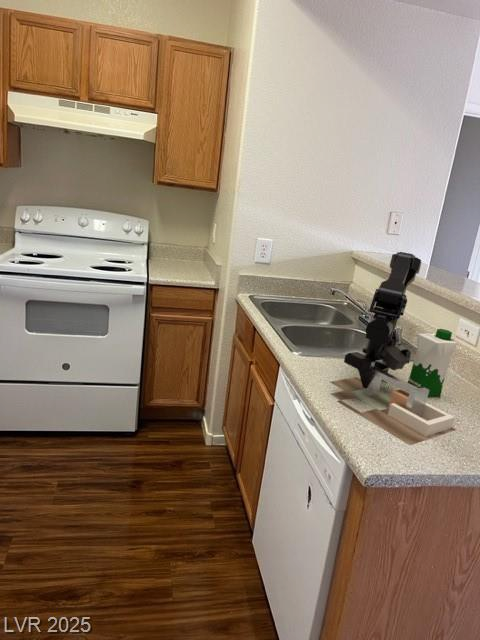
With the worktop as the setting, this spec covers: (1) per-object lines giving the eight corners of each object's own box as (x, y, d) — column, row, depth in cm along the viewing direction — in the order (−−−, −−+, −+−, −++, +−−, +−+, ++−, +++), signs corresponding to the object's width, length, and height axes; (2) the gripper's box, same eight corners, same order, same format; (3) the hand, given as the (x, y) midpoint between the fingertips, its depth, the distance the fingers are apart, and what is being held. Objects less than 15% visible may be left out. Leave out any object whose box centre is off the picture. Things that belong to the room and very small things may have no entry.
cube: (399, 405, 127) (404, 388, 126) (415, 414, 123) (420, 396, 122) (387, 408, 124) (392, 391, 123) (403, 417, 120) (408, 399, 119)
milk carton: (444, 401, 138) (463, 336, 133) (420, 403, 134) (438, 336, 129) (422, 388, 146) (439, 326, 140) (399, 389, 142) (415, 325, 137)
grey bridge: (372, 390, 134) (378, 365, 132) (422, 416, 122) (429, 389, 120) (358, 393, 131) (364, 368, 129) (407, 420, 119) (415, 393, 117)
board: (355, 381, 143) (356, 377, 143) (454, 435, 118) (456, 429, 118) (309, 390, 132) (310, 385, 132) (408, 451, 107) (409, 445, 107)
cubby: (413, 408, 127) (416, 397, 126) (451, 428, 118) (454, 417, 118) (387, 414, 120) (390, 404, 120) (425, 436, 112) (428, 425, 111)
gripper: (383, 346, 116) (369, 405, 120) (427, 341, 127) (413, 394, 131) (348, 331, 124) (337, 386, 129) (393, 327, 135) (381, 378, 140)
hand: (368, 387), depth 132 cm, fingers closed on grey bridge, 3 cm apart
